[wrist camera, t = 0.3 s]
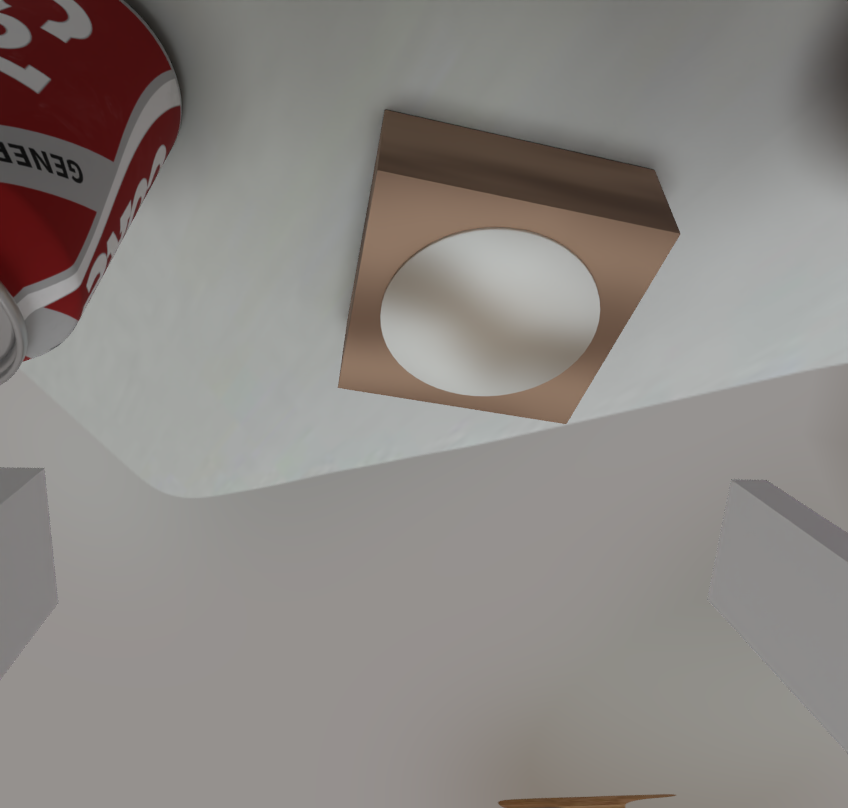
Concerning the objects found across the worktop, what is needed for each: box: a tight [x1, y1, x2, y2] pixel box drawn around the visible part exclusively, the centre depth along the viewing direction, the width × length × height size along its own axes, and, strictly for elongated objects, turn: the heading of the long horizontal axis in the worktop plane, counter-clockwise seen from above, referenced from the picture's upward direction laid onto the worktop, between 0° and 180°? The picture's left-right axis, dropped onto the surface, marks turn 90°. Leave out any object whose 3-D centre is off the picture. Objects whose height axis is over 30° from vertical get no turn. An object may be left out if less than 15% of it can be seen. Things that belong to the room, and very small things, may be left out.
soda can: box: [0, 0, 182, 385], centre depth 18 cm, size 7×7×12 cm
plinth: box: [338, 110, 680, 424], centre depth 26 cm, size 10×10×4 cm
